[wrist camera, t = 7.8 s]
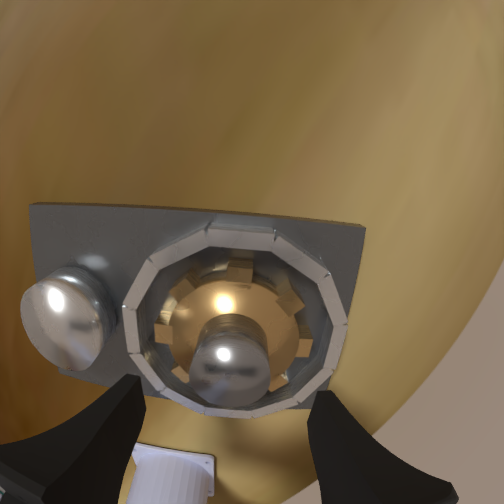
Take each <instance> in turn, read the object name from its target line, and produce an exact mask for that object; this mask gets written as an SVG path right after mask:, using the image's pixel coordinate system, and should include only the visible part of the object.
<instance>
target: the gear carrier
mask: <svg viewBox="0 0 504 504" xmlns="http://www.w3.org/2000/svg"><path fill="white" fill-rule="evenodd" d="M29 216H30V231H31V243H32V252H33V260H34V268H35V274H36V281H37V283H36V284H35V285H33V286H32V287H30V288H29V289H28V290H27V291H26V292H25V293H24V295H23V297H22V300H21V318H22V322H23V325H24V328H25V331H26V333H27V335H28V337H29V339H30V340H31V342H32V343H33V345H34V346H35V347H36V349H37V350H38V351H39V352H40V353H41V354H42V355H43V356H44V357H45V358H46V359H47V360H49V361H50V362H52V363H53V364H55V365H56V366H57V367H58V370H59V373H61V374H64V375H67V376H70V377H74V378H77V379H80V380H84V381H87V382H91V383H95V384H98V385H102V386H106V387H110V388H111V387H112V386H113V385H114V384H115V383H116V382H117V381H118V380H120V379H121V378H122V377H123V376H124V375H125V374H132V375H137V376H140V378H141V383H142V389H143V395H147V396H152V397H158V398H164V399H170V400H174V401H175V402H177V403H179V404H181V405H183V406H185V407H187V408H189V409H191V410H193V411H195V412H198V413H200V414H202V413H203V412H204V415H208V416H218V417H229V418H244V419H251V415H252V416H253V418H258V417H261V416H264V415H268V414H271V413H274V412H277V411H280V410H283V409H312V406H313V403H314V400H315V396H316V393H317V391H326V390H327V387H328V384H329V380H330V377H331V374H332V373H333V372H334V371H333V369H336V367H337V363H338V360H339V357H340V353H341V350H342V346H343V343H344V339H345V336H346V332H347V328H348V324H347V323H348V320H347V317H348V313H349V309H350V305H351V301H352V296H353V292H354V288H355V283H356V278H357V274H358V269H359V264H360V259H361V254H362V248H363V243H364V237H365V231H366V228H365V227H363V226H362V225H360V224H353V223H345V222H336V221H328V220H319V219H310V218H300V217H290V216H280V215H270V214H259V213H248V212H236V211H223V210H210V209H196V208H181V207H164V206H146V205H124V204H98V203H56V202H37V203H33V204H30V205H29ZM229 257H233V258H243V259H252V260H253V274H255V275H258V276H260V277H262V278H265V279H266V280H268V281H270V282H271V283H273V284H274V285H275V286H277V285H279V284H280V283H281V282H283V281H284V280H285V279H287V278H288V279H289V280H290V281H291V282H292V284H293V285H294V286H295V287H296V289H297V290H298V291H299V292H300V294H301V296H302V298H303V301H304V304H305V307H304V308H302V309H301V310H299V311H298V312H296V313H295V318H296V321H297V325H308V326H309V329H310V332H311V335H312V338H313V342H312V346H311V350H310V354H309V357H295V358H294V360H293V362H292V363H291V365H290V366H289V368H288V369H287V370H286V373H287V379H288V383H287V384H285V385H283V386H281V387H280V388H278V389H276V390H274V391H273V392H271V391H269V390H267V392H266V393H265V394H264V395H263V396H262V397H261V398H260V399H259V400H257V401H255V402H253V403H251V404H248V405H245V406H240V407H225V406H219V405H216V404H213V403H211V402H208V401H206V400H205V399H203V398H202V397H200V396H199V395H198V394H197V393H196V392H195V391H194V389H193V388H192V386H191V384H190V381H189V382H187V383H186V384H185V383H184V382H183V381H181V380H180V379H179V378H178V377H177V376H176V375H175V374H173V373H172V372H171V369H172V366H173V363H174V360H175V359H174V357H173V355H172V353H171V350H170V348H169V344H164V343H158V342H155V328H154V323H155V321H156V319H157V318H158V316H159V314H160V312H161V311H168V312H173V310H174V308H175V306H176V304H177V301H176V300H175V299H174V298H173V296H172V295H171V294H170V293H169V290H170V289H171V287H172V286H173V284H174V282H175V281H176V280H177V279H178V278H179V277H181V276H182V275H183V274H184V273H186V272H187V271H188V270H189V269H190V268H192V269H193V270H194V271H195V273H196V274H197V275H198V276H199V277H200V278H203V277H205V276H207V275H210V274H213V273H217V272H222V271H227V266H228V261H229Z"/></svg>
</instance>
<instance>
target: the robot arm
mask: <svg viewBox="0 0 504 504" xmlns="http://www.w3.org/2000/svg"><path fill="white" fill-rule="evenodd" d="M145 412H146V405H145V400H144V395H143V389H142V383H141V378H140V376H137V375H132V374H125V375H124V376H123V377H122V378H121V379H120V380H118V381H117V382H116V383H115V384H114V385H113V386H112V387H111V388H110V389H108V390H107V391H106V392H105V393H104V394H103V395H101V396H100V397H99V398H98V399H97V400H95V401H94V402H93V403H92V404H90V405H89V406H88V407H86V408H85V409H84V410H82V411H81V412H79V413H78V414H77V415H75V416H74V417H72V418H70V419H69V420H67V421H65V422H64V423H62V424H60V425H58V426H56V427H54V428H52V429H50V430H48V431H46V432H43V433H41V434H39V435H36V436H33V437H31V438H27V439H24V440H21V441H17V442H13V443H8V444H3V445H0V486H1V487H2V488H3V489H4V490H5V493H4V495H2V494H1V493H0V504H118V499H119V494H120V489H121V485H122V480H123V476H124V473H125V470H126V467H127V464H128V462H129V459H130V456H131V454H132V456H133V458H134V461H135V464H136V466H137V468H136V471H135V474H134V478H133V481H132V484H131V488H130V491H129V494H128V498H127V501H126V504H207V499H208V496H214V457H213V456H212V455H207V454H199V453H191V452H184V451H177V450H171V449H166V448H160V447H155V446H150V445H146V444H141V443H137V442H136V441H137V439H138V436H139V434H140V431H141V428H142V424H143V421H144V416H145ZM307 426H308V436H309V444H310V448H311V452H312V456H313V460H314V464H315V469H316V473H317V477H318V481H319V485H320V491H321V499H322V504H456V503H457V502H458V500H459V497H458V495H457V493H456V491H455V489H454V487H453V486H452V484H451V483H450V482H447V481H444V480H442V479H439V478H436V477H433V476H431V475H428V474H426V473H424V472H422V471H420V470H418V469H416V468H414V467H413V466H411V465H409V464H408V463H406V462H404V461H403V460H401V459H400V458H398V457H397V456H395V455H394V454H392V453H391V452H389V451H388V450H387V449H386V448H384V447H383V446H382V445H381V444H380V443H378V442H377V441H376V440H375V439H374V438H373V437H372V436H371V435H370V434H369V433H368V432H367V431H366V430H365V429H364V428H363V427H362V426H361V425H360V424H359V423H358V422H357V420H356V419H355V418H354V417H353V416H352V415H351V414H350V412H349V411H348V410H347V409H346V408H345V406H344V405H343V404H342V403H341V402H340V400H339V399H338V398H337V397H336V395H335V394H334V393H333V392H332V391H331V390H327V391H317V393H316V396H315V400H314V403H313V406H312V409H311V412H310V415H309V418H308V421H307Z"/></svg>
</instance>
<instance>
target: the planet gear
mask: <svg viewBox="0 0 504 504" xmlns="http://www.w3.org/2000/svg"><path fill="white" fill-rule="evenodd" d="M169 293H170V294H171V295H172V296H173V298H174V299H175V300H176V301H177V304H176V306H175V308H174V310H173V312H168V311H161V312H160V314H159V316H158V318H157V319H156V321H155V323H154V328H155V342H158V343H164V344H169V348H170V350H171V353H172V355H173V357H174V359H175V360H174V363H173V366H172V369H171V372H172V373H173V374H175V375H176V376H177V377H178V378H179V379H180V380H181V381H183V382H184V383H185V384H186V383H187V382H189V381H190V384H191V386H192V388H193V389H194V391H195V392H196V393H197V394H198V395H199V396H200V397H202V398H203V399H205V400H206V401H208V402H211V403H213V404H216V405H219V406H225V407H240V406H245V405H248V404H251V403H253V402H255V401H257V400H259V399H260V398H261V397H262V396H263V395H264V394H265V393H266V392H267V390H269V391H271V392H273V391H274V390H276V389H278V388H280V387H281V386H283V385H285V384H287V383H288V379H287V373H286V370H287V369H288V368H289V366H290V365H291V363H292V362H293V360H294V358H295V357H309V354H310V350H311V346H312V342H313V338H312V335H311V332H310V329H309V326H308V325H297V321H296V318H295V313H296V312H298V311H299V310H301V309H302V308H304V307H305V304H304V301H303V298H302V296H301V294H300V292H299V291H298V290H297V289H296V287H295V286H294V285H293V284H292V282H291V281H290V280H289V279H288V278H287V279H285V280H284V281H283V282H281V283H280V284H279V285H277V286H275V285H274V284H273V283H271V282H270V281H268V280H266V279H265V278H262V277H260V276H258V275H255V274H253V260H252V259H243V258H233V257H229V261H228V266H227V271H222V272H217V273H213V274H210V275H207V276H205V277H203V278H200V277H199V276H198V275H197V274H196V273H195V271H194V270H193V269H192V268H190V269H189V270H188V271H187V272H186V273H184V274H183V275H182V276H181V277H179V278H178V279H177V280H176V281H175V282H174V284H173V286H172V287H171V289H170V290H169Z"/></svg>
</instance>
